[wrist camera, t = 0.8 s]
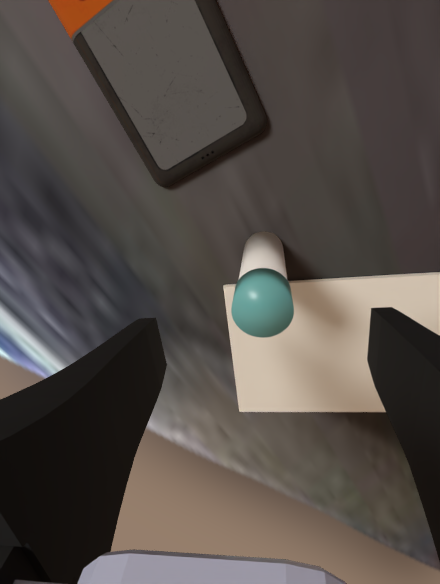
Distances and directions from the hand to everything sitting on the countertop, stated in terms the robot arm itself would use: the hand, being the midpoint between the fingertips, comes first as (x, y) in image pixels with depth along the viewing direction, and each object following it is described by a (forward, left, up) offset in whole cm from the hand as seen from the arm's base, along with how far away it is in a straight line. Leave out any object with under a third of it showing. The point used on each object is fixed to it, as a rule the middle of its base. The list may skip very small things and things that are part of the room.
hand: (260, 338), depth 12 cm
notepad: (-5, +7, -9) cm, 12 cm away
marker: (0, 0, -9) cm, 9 cm away
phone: (+5, -12, -10) cm, 16 cm away
